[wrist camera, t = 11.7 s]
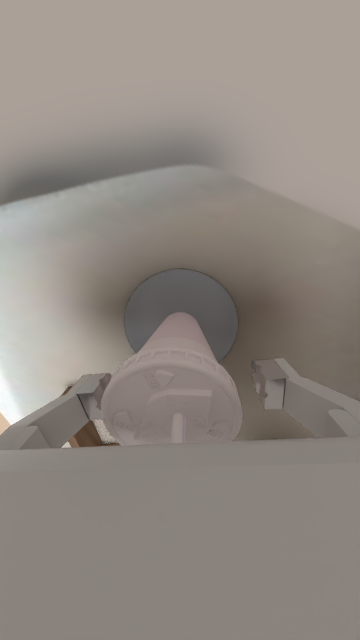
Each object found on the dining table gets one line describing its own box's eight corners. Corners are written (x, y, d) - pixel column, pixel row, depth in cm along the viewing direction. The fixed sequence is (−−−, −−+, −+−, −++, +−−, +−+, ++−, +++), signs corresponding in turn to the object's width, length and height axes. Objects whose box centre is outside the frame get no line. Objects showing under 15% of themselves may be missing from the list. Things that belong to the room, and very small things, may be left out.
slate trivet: (234, 259, 14) (236, 260, 14) (237, 366, 18) (239, 369, 18) (112, 278, 16) (109, 279, 15) (140, 375, 19) (138, 378, 19)
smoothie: (227, 331, 16) (386, 643, 3) (179, 368, 18) (156, 664, 5) (180, 283, 15) (124, 490, 2) (134, 328, 17) (-65, 598, 4)
